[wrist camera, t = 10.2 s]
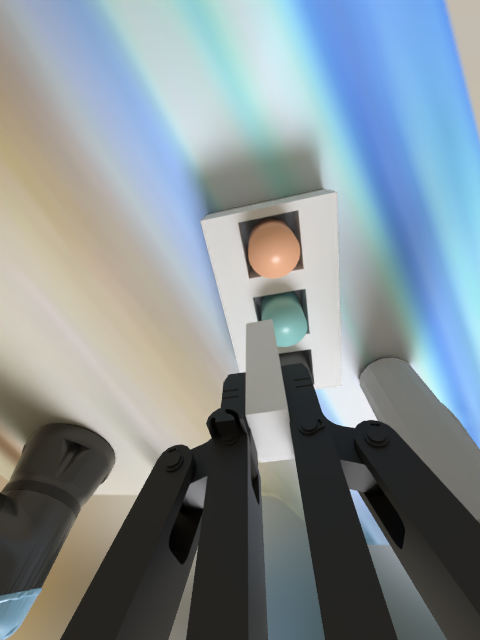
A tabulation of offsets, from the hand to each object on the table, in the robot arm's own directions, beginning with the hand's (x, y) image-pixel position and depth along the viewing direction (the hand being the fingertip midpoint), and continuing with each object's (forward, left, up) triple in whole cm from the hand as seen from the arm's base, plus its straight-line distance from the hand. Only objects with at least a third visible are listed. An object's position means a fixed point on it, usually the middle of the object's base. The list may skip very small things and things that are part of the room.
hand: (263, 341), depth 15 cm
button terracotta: (+2, +2, -15) cm, 15 cm away
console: (+2, -5, -17) cm, 18 cm away
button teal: (+2, -5, -15) cm, 16 cm away
